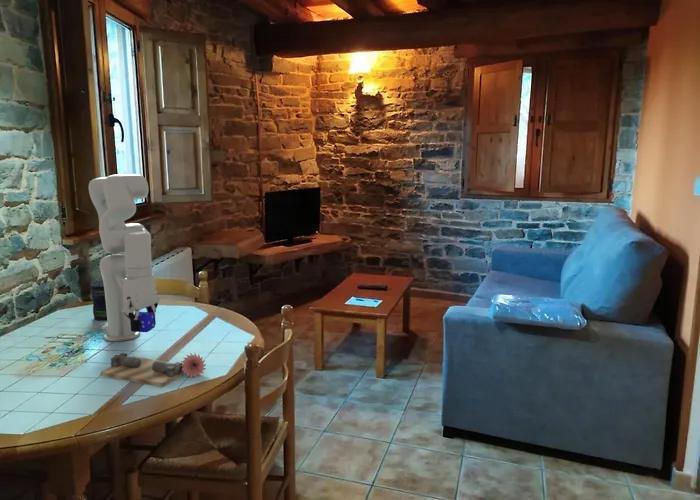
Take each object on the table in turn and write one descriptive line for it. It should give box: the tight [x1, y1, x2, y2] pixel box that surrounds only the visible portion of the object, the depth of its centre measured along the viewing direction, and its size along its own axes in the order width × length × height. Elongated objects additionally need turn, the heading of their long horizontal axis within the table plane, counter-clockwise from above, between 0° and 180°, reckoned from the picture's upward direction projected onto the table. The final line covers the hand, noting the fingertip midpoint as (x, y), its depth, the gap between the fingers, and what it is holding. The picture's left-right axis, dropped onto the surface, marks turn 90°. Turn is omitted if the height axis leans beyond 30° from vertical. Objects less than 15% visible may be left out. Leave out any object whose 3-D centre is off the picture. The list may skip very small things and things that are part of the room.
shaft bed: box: [100, 352, 185, 388], centre depth 170 cm, size 25×14×4 cm, turn 69°
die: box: [133, 311, 156, 333], centre depth 167 cm, size 5×5×5 cm
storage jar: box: [90, 280, 107, 322], centre depth 226 cm, size 10×10×15 cm
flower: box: [181, 352, 207, 378], centre depth 168 cm, size 8×8×6 cm
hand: (143, 327), depth 167 cm, fingers closed on die, 6 cm apart
